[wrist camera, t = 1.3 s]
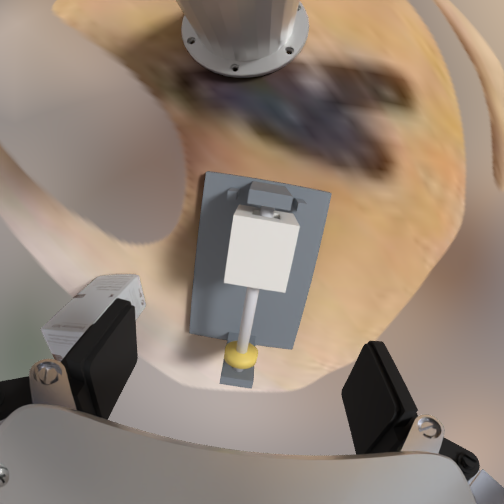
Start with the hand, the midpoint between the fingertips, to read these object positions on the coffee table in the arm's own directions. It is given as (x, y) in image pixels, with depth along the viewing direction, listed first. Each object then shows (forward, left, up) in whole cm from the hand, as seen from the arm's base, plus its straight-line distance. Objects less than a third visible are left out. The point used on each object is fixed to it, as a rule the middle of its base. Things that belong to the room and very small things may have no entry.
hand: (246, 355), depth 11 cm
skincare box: (+10, -15, -20) cm, 26 cm away
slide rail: (+4, 0, -19) cm, 20 cm away
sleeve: (-1, 0, -15) cm, 15 cm away
